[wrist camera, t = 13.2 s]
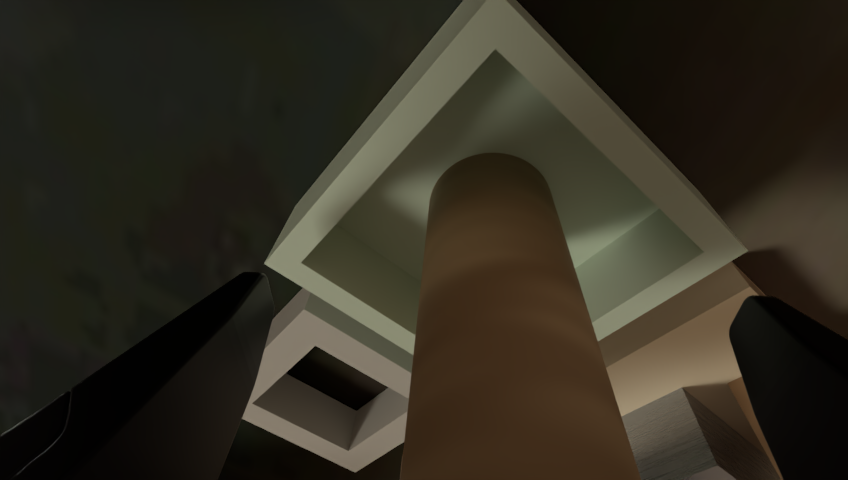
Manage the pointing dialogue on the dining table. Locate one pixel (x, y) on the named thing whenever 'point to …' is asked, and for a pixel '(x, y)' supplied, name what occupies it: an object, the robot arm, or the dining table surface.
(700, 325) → the board
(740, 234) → the dining table surface
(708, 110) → the dining table surface
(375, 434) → the socket
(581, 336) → the dowel
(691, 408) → the grey rectangular box
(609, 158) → the tray
